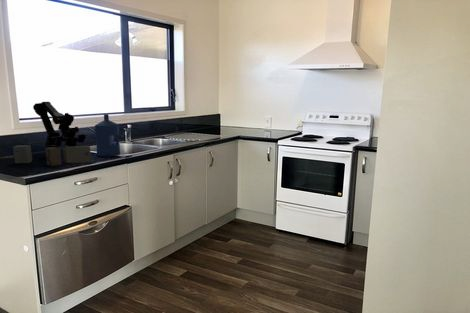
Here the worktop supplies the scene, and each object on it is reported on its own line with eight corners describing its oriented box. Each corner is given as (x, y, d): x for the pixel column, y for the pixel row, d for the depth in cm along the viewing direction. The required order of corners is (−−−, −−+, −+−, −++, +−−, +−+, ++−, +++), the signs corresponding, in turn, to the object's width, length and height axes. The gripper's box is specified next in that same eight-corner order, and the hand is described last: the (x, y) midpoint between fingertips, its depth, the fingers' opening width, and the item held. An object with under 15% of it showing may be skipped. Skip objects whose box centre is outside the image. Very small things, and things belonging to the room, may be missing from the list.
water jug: (94, 156, 244) (91, 115, 239) (99, 152, 260) (96, 113, 254) (118, 156, 247) (116, 115, 242) (122, 152, 262) (119, 113, 257)
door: (63, 163, 222) (61, 147, 220) (64, 162, 225) (63, 146, 223) (90, 162, 224) (88, 146, 222) (91, 161, 227) (90, 146, 225)
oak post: (47, 164, 221) (45, 148, 219) (56, 162, 225) (54, 147, 223) (52, 165, 216) (50, 149, 215) (61, 164, 221) (60, 148, 219)
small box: (32, 161, 230) (30, 145, 228) (27, 163, 224) (26, 146, 222) (19, 161, 229) (17, 145, 227) (14, 163, 224) (12, 146, 222)
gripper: (54, 123, 223) (64, 143, 219) (83, 121, 237) (93, 140, 233) (50, 135, 230) (59, 154, 225) (78, 132, 244) (88, 150, 239)
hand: (75, 149), depth 230 cm, fingers closed
